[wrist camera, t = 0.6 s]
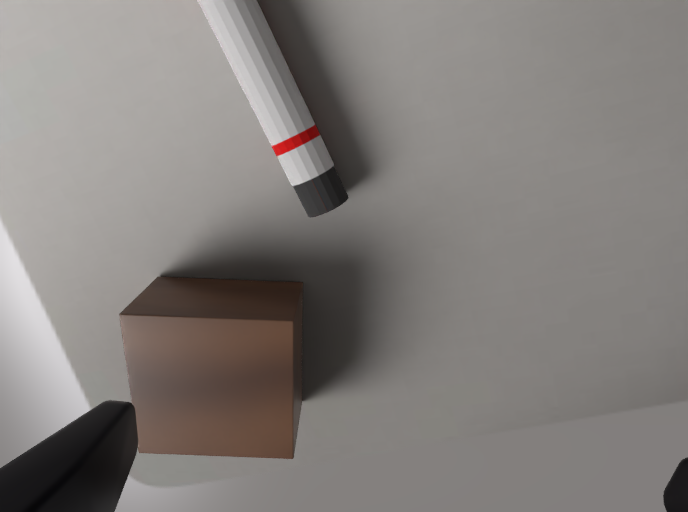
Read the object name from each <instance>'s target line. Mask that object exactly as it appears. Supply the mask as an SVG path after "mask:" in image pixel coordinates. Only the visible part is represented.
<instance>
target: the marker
mask: <svg viewBox="0 0 688 512" xmlns="http://www.w3.org/2000/svg"><path fill="white" fill-rule="evenodd" d="M197 1H198V3H199V4H200V6H201V8H202V10H203V12H204V14H205V16H206V18H207V20H208V22H209V24H210V26H211V28H212V30H213V32H214V34H215V36H216V38H217V40H218V42H219V44H220V46H221V48H222V50H223V52H224V54H225V56H226V58H227V59H228V61H229V63H230V65H231V67H232V69H233V71H234V73H235V75H236V77H237V79H238V81H239V83H240V85H241V87H242V89H243V91H244V93H245V95H246V97H247V99H248V101H249V103H250V105H251V107H252V109H253V111H254V113H255V114H256V116H257V118H258V120H259V122H260V124H261V126H262V128H263V130H264V132H265V134H266V136H267V138H268V140H269V142H270V144H271V146H272V148H273V150H274V152H275V154H276V156H277V158H278V160H279V162H280V164H281V166H282V168H283V169H284V171H285V173H286V175H287V177H288V179H289V181H290V183H291V185H292V186H293V187H294V189H295V191H296V193H297V195H298V197H299V199H300V201H301V203H302V205H303V207H304V209H305V211H306V213H307V214H308V216H309V217H316V216H319V215H322V214H324V213H327V212H329V211H331V210H333V209H335V208H336V207H338V206H340V205H341V204H343V203H344V202H345V201H346V200H347V199H348V195H347V193H346V191H345V189H344V187H343V185H342V182H341V180H340V178H339V176H338V174H337V172H336V170H335V168H334V163H333V161H332V159H331V157H330V155H329V153H328V150H327V148H326V146H325V144H324V142H323V140H322V138H321V136H320V133H319V131H318V129H317V127H316V125H315V123H314V121H313V119H312V116H311V114H310V112H309V110H308V108H307V106H306V104H305V102H304V99H303V97H302V95H301V93H300V91H299V89H298V87H297V85H296V82H295V80H294V78H293V76H292V74H291V72H290V70H289V68H288V66H287V63H286V61H285V59H284V57H283V55H282V53H281V51H280V49H279V46H278V44H277V42H276V40H275V38H274V36H273V34H272V32H271V29H270V27H269V25H268V23H267V21H266V19H265V17H264V15H263V12H262V10H261V8H260V6H259V4H258V2H257V0H197Z"/></svg>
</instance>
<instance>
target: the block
mask: <svg viewBox="0 0 688 512" xmlns="http://www.w3.org/2000/svg"><path fill="white" fill-rule="evenodd" d="M120 322H121V330H122V337H123V344H124V351H125V358H126V365H127V372H128V380H129V387H130V394H131V401H132V404H133V405H134V407H135V413H136V423H137V433H138V451H139V453H156V454H181V455H207V456H232V457H258V458H283V459H293V458H294V451H295V445H296V438H297V432H298V425H299V418H300V412H301V405H302V336H303V283H302V282H281V281H256V280H231V279H206V278H181V277H157V278H156V279H155V280H154V281H153V282H152V283H151V284H150V285H149V286H148V287H147V288H146V289H145V290H144V291H143V292H142V293H141V294H140V295H139V296H138V297H137V298H136V299H134V300H133V301H132V302H131V303H130V304H129V305H128V306H127V307H126V308H125V309H124V310H123V311H122V312H121V313H120Z"/></svg>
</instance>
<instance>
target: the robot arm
mask: <svg viewBox="0 0 688 512" xmlns="http://www.w3.org/2000/svg"><path fill="white" fill-rule="evenodd" d="M137 448H138V433H137V423H136V413H135V407H134V405H133V404H132V403H130V402H122V401H112V400H109V401H105V402H103V403H101V404H99V405H98V406H96V407H95V408H93V409H92V410H90V411H89V412H87V413H86V414H84V415H82V416H81V417H79V418H78V419H76V420H75V421H73V422H71V423H70V424H68V425H67V426H65V427H64V428H62V429H61V430H59V431H58V432H56V433H55V434H53V435H51V436H50V437H48V438H47V439H45V440H44V441H42V442H41V443H39V444H37V445H36V446H34V447H33V448H31V449H30V450H28V451H27V452H25V453H23V454H22V455H20V456H19V457H17V458H16V459H14V460H12V461H11V462H9V463H8V464H6V465H5V466H3V467H2V468H0V512H114V511H115V509H116V506H117V503H118V500H119V498H120V495H121V492H122V490H123V488H124V485H125V482H126V480H127V477H128V474H129V472H130V469H131V467H132V464H133V461H134V459H135V456H136V452H137ZM663 496H664V505H665V508H666V510H667V512H688V458H685V459H683V460H682V461H681V462H680V463H679V465H678V467H677V469H676V471H675V472H674V474H673V476H672V478H671V480H670V481H669V483H668V485H667V487H666V488H665V491H664V495H663Z"/></svg>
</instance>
